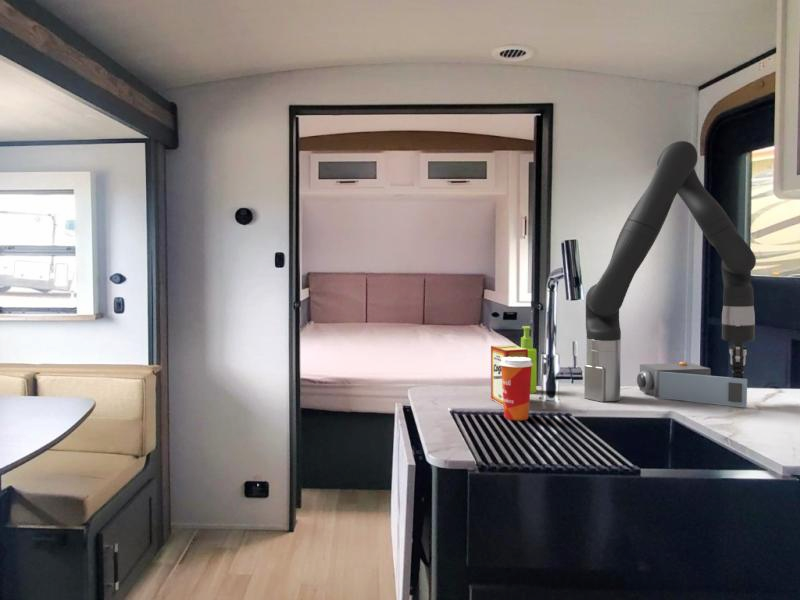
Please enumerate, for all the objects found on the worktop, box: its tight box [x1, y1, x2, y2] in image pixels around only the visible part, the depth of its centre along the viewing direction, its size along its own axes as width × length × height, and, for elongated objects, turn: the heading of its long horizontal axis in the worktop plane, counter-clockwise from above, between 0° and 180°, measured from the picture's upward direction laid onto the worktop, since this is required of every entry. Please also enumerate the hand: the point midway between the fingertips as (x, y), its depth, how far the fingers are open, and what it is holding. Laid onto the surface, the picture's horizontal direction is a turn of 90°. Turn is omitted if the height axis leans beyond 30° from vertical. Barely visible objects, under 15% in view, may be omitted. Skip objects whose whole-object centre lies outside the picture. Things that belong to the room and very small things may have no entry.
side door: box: [654, 371, 748, 408], centre depth 150 cm, size 2×22×7 cm, turn 56°
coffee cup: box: [500, 357, 533, 421], centre depth 138 cm, size 8×8×15 cm
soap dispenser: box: [520, 325, 538, 394], centre depth 168 cm, size 6×7×20 cm
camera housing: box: [636, 361, 712, 397], centre depth 163 cm, size 10×18×9 cm, turn 95°
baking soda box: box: [490, 344, 528, 404], centre depth 153 cm, size 10×6×16 cm
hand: (737, 386), depth 147 cm, fingers closed
